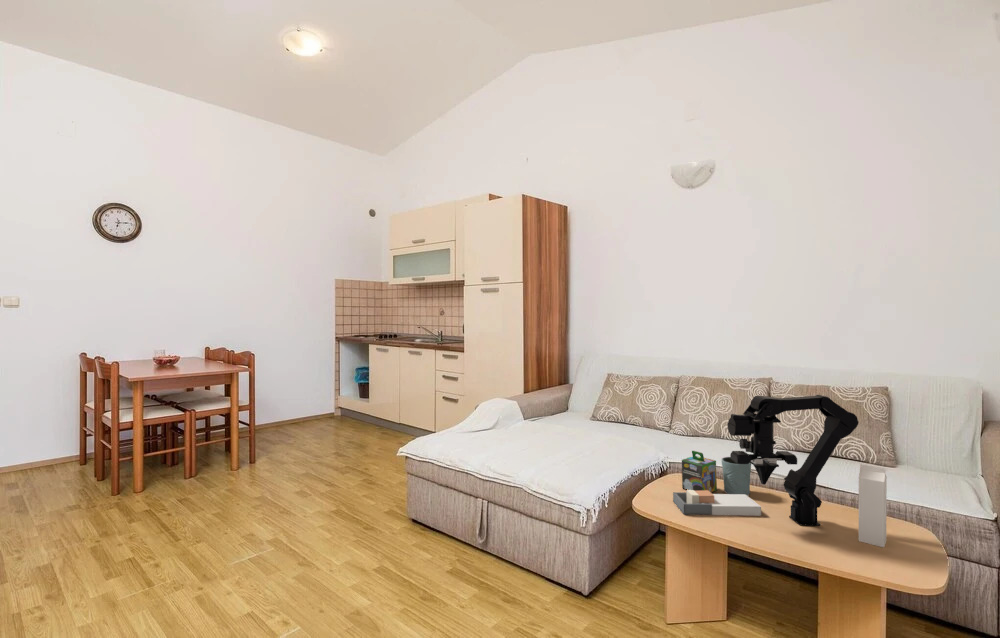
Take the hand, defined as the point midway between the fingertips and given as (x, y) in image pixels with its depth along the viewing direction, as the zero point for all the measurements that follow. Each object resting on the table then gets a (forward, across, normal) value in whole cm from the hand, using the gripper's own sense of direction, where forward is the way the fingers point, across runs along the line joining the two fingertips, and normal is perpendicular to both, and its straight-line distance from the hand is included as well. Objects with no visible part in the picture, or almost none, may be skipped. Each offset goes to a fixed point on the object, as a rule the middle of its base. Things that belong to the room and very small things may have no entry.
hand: (763, 484), depth 156 cm
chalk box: (+12, +10, -28) cm, 32 cm away
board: (+12, +6, -10) cm, 17 cm away
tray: (+12, +19, -10) cm, 25 cm away
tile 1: (+9, +18, -10) cm, 22 cm away
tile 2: (+9, +15, -10) cm, 20 cm away
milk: (+12, -25, +13) cm, 31 cm away
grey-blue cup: (+12, -3, -26) cm, 29 cm away
